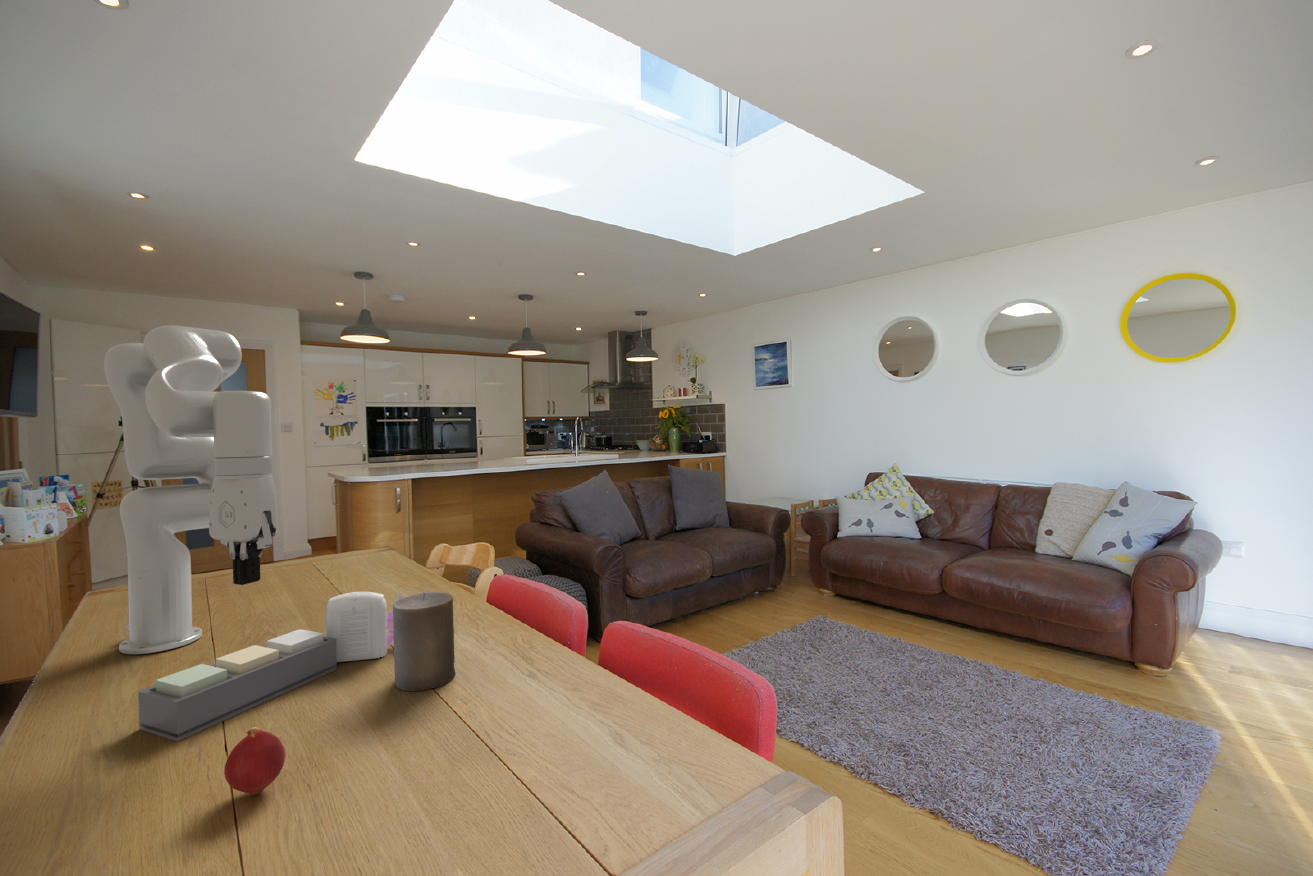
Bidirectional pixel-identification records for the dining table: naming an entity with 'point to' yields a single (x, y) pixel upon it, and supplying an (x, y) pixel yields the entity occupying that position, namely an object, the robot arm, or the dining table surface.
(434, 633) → the pillar candle
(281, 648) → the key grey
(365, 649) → the photo printer
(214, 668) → the key sage
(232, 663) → the key sand
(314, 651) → the grey compartment tray
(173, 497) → the robot arm
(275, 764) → the onion
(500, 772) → the dining table surface
